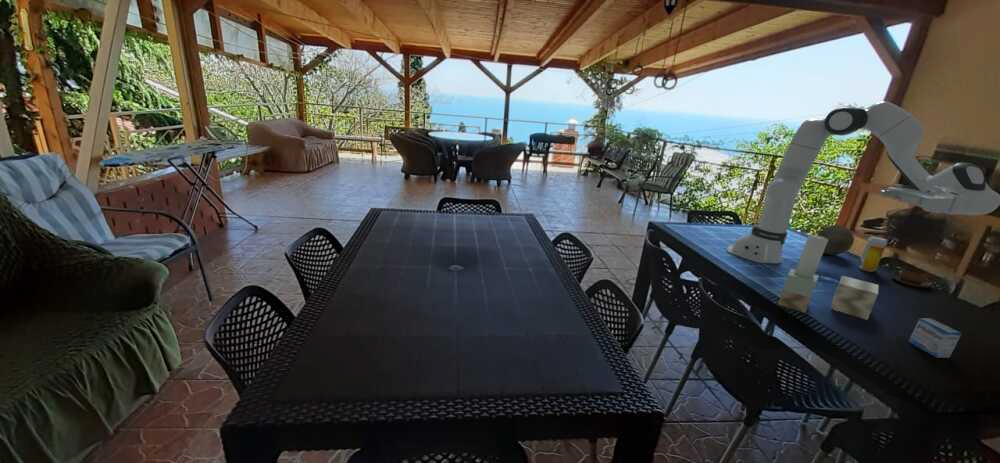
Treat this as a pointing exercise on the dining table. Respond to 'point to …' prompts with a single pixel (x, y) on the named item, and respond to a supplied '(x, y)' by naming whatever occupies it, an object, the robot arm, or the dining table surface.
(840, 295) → the shelf block
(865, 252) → the beer can
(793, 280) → the tower block upper
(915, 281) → the cup and saucer
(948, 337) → the medicine box
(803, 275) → the canister
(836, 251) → the cantaloupe
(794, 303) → the tower block lower
